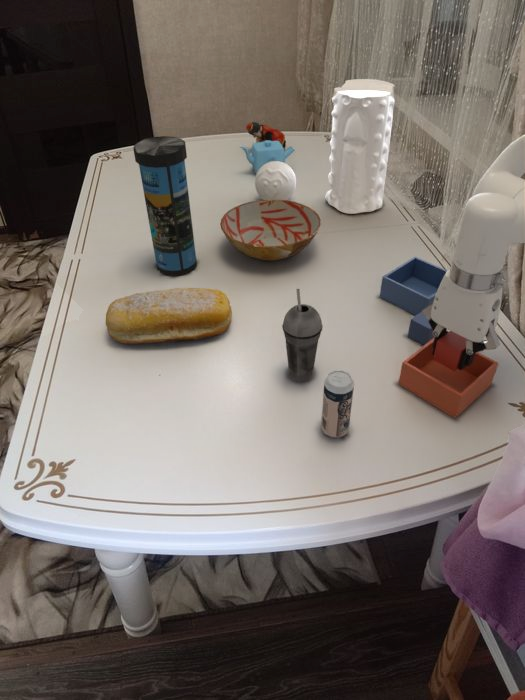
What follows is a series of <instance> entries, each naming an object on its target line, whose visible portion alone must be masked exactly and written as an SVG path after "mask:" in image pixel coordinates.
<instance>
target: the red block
mask: <svg viewBox="0 0 525 700" xmlns="http://www.w3.org/2000/svg"><path fill="white" fill-rule="evenodd" d="M464 350H466V338H464V337H462V336H460V335H458V334H456V333H454V332H452V331H450V330H448V333H447V334H445V335H444V336H443V337H441V338H440V339H439V340H438V341H437V345H436V349H435V353H434V357H433V360H435V361H436V362H438V363H440V364H442V365H444V366H445V367H447V368H449V369H451V370H453V371H454V372H455V371H456V370H457V369H458V365H459V362H460V358H461V355H462V352H463V351H464Z"/></svg>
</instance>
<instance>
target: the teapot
mask: <svg viewBox="0 0 525 700" xmlns="http://www.w3.org/2000/svg"><path fill="white" fill-rule="evenodd" d="M239 148H240V149H242V150H243V151H244V153H245V156H246V160H247V161H248V163H249V164H251V165H252V168H253V170H254V173H255V175H256V174H257V172H258V170H259V169H260V168H261V167H262V166H263V165H264V164H266V163H268V162H271V161H280V162H283V163H285V164H286V159H287V158H289V157H290V156H291V155H292V154H293V153H294V152H295V149H294V147H293V146H292V145H291V146H289V147H288V148H287V149H286V150H285V148H283V146H282V145H281V144H280V142H279V141H270V140H266V141H264V142H258V143H256V142H253V143H252V145H251V153H250V149H249V148H248V147H247V146H239Z"/></svg>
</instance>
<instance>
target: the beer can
mask: <svg viewBox="0 0 525 700" xmlns="http://www.w3.org/2000/svg"><path fill="white" fill-rule="evenodd" d="M354 388H355V381H354V380H353V378H352V375H350V373H348V372H346V371H344V370H333V371H331V372H330V373H328V375H327V376H326V377H325V379H324V381H323V395H322V408H321V422H320V423H321V424H320V428H321V431H322V432H323V433H324V434H325V435H327V436H328V437H330V438H341V437H344V436H345V435H347V433H348V432H349V431H350V424H351V423H350V421H351V413H352V406H353V405H352V404H353V399H354V397H353V396H354Z"/></svg>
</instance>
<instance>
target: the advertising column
mask: <svg viewBox="0 0 525 700" xmlns="http://www.w3.org/2000/svg"><path fill="white" fill-rule="evenodd" d="M132 149H133V150H132V151H133V154H134V155H133V156H134V161H135V163H137V164H138V167H139V173H140V179H141V184H142V185H141V186H142V191H143V195H144V196H143V197H144V201H145V207H146V213H147V220H148V225H149V230H150V236H151V241H152V242H151V243H152V248H153V253H154V258H155V264H156V270H157V271H158V272H159V274H161V275H164V276H167V277H183V276H187V275H188V274H190V273H192V272H193V271H195V270H196V268H197V266H198V263H197V254H196V246H195V236H194V229H193V221H192V220H193V219H192V213H191V204H190V203H191V202H190V193H189V185H188V180H187V179H188V178H187V169H186V162H185V160H186V159H187V158H188V155H187V146H186V141H185V140H183V139H182V138H180V137H177V136H167V135H163V136H162V135H161V136H152V137H148V138H144V139H142V140H140V141H137V142H136V143H135V144H134V145H133V148H132Z"/></svg>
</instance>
